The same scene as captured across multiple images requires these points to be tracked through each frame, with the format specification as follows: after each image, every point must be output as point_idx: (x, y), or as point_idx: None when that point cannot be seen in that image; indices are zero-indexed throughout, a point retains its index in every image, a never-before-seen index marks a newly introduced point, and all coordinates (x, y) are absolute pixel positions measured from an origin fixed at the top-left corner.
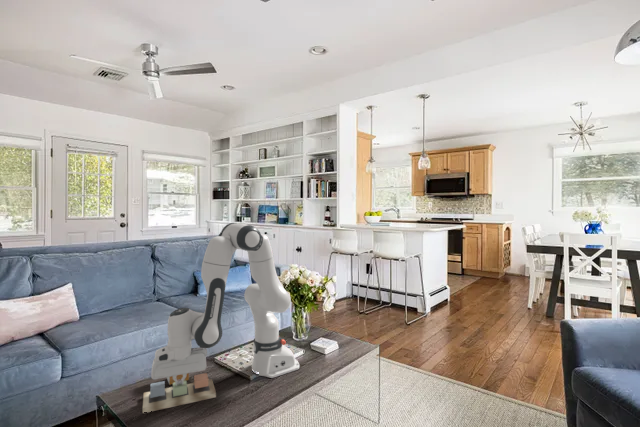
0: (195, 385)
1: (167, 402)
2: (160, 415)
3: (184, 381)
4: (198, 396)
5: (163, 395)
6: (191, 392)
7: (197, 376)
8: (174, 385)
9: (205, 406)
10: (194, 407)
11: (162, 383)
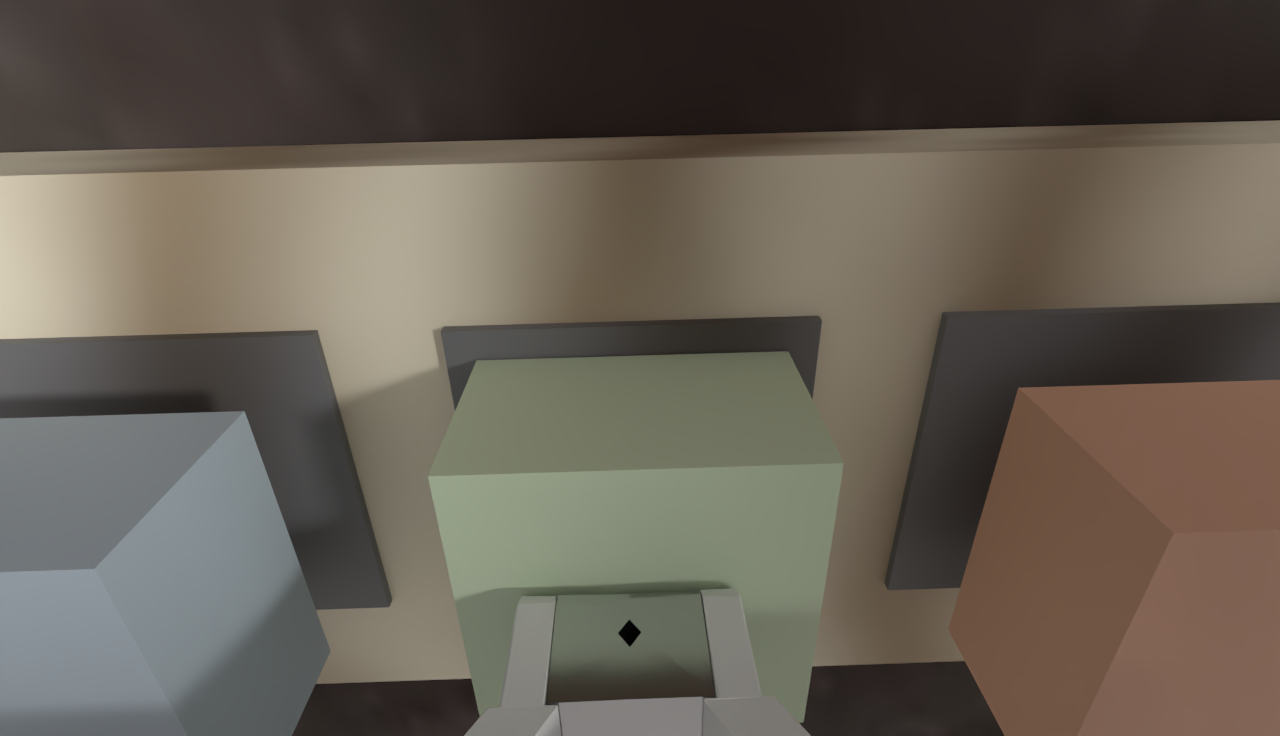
0: (988, 697)
1: (429, 672)
2: (384, 707)
3: (780, 517)
4: (927, 655)
5: (302, 489)
6: (851, 538)
7: (1230, 631)
8: (495, 611)
9: (941, 706)
10: (809, 688)
11: (84, 674)
